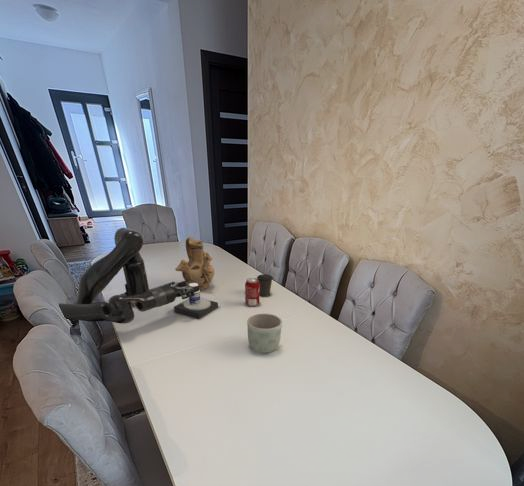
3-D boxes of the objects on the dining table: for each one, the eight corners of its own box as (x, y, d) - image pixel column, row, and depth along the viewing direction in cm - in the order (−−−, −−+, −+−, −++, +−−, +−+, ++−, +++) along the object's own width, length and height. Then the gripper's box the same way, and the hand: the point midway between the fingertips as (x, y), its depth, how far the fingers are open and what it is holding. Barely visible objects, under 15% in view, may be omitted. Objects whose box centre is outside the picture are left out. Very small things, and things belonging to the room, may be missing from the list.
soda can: (257, 307, 144) (258, 283, 137) (243, 306, 145) (243, 281, 138) (260, 302, 149) (261, 278, 143) (247, 300, 150) (247, 276, 144)
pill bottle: (190, 300, 141) (188, 282, 136) (201, 300, 141) (200, 282, 136) (188, 305, 136) (186, 286, 131) (200, 305, 137) (198, 286, 132)
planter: (242, 341, 118) (242, 316, 112) (271, 336, 122) (273, 311, 116) (254, 358, 108) (255, 331, 102) (285, 351, 112) (288, 325, 107)
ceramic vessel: (177, 293, 156) (171, 242, 142) (186, 280, 172) (181, 233, 158) (213, 294, 156) (210, 244, 142) (218, 281, 172) (216, 235, 158)
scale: (174, 311, 138) (173, 305, 136) (194, 300, 149) (193, 294, 147) (199, 319, 133) (198, 312, 131) (218, 307, 143) (217, 300, 141)
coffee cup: (253, 294, 157) (253, 275, 152) (263, 290, 162) (264, 271, 157) (264, 298, 153) (265, 279, 147) (275, 294, 158) (276, 275, 152)
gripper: (152, 299, 129) (183, 289, 139) (172, 309, 121) (203, 298, 132) (148, 282, 125) (181, 273, 135) (169, 292, 117) (202, 281, 128)
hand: (192, 285), depth 134 cm, fingers open, 8 cm apart
